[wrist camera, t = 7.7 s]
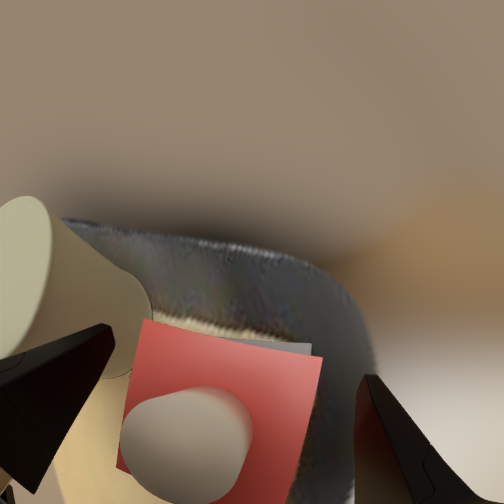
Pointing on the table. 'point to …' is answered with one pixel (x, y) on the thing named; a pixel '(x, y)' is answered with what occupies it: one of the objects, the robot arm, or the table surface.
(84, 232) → the table surface
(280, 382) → the ketchup bottle
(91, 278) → the can
